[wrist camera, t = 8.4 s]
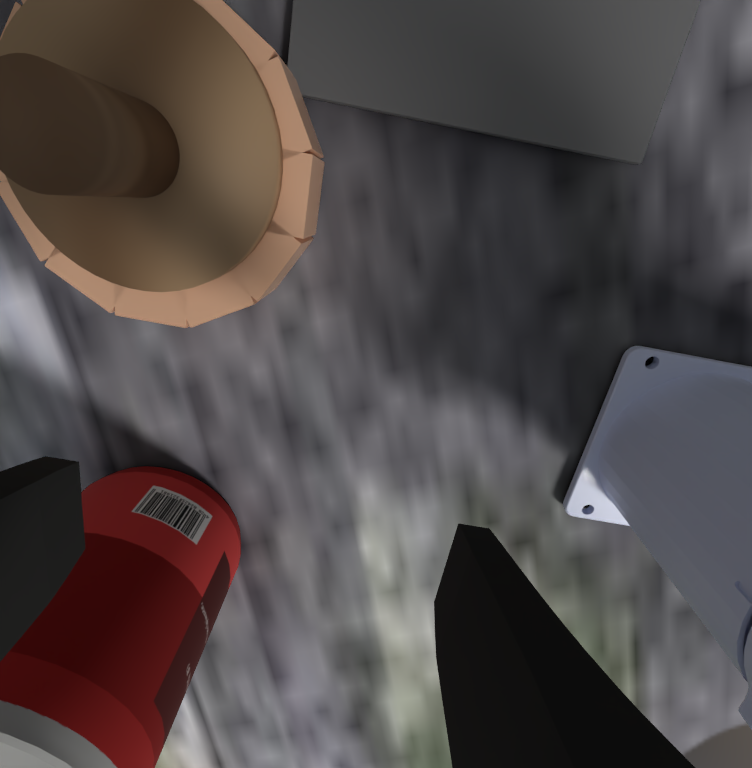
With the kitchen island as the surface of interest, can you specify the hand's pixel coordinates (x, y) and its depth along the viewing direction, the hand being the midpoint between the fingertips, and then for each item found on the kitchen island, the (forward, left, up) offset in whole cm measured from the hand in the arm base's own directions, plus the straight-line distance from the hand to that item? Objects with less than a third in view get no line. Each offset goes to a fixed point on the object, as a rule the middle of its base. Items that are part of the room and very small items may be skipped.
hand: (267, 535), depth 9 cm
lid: (+6, -6, -7) cm, 11 cm away
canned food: (+7, +10, -11) cm, 16 cm away
